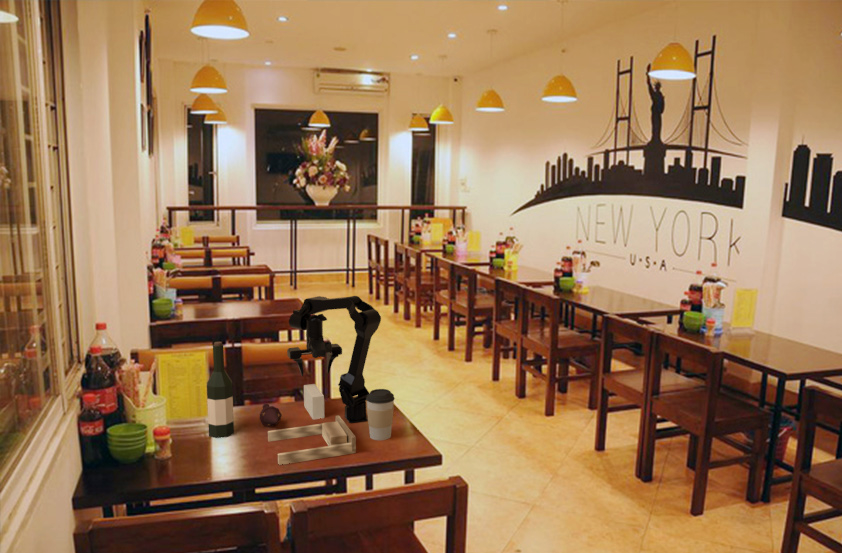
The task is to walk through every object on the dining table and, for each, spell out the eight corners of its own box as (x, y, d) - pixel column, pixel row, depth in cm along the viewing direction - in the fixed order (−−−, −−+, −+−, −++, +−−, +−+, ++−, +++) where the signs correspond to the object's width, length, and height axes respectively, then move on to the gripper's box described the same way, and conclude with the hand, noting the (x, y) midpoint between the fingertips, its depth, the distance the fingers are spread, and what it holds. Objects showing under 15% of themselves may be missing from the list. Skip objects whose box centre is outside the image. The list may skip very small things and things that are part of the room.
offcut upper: (337, 428, 206) (337, 421, 206) (346, 443, 195) (347, 435, 195) (322, 430, 204) (322, 423, 204) (330, 445, 193) (330, 437, 193)
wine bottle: (238, 428, 211) (235, 339, 206) (228, 438, 202) (225, 346, 198) (214, 427, 211) (210, 339, 207) (203, 437, 203) (199, 345, 199)
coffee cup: (360, 438, 203) (360, 392, 201) (375, 428, 211) (375, 384, 209) (385, 443, 199) (385, 397, 197) (399, 433, 207) (399, 389, 205)
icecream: (289, 411, 208) (276, 402, 221) (267, 410, 205) (255, 400, 218) (285, 433, 208) (272, 421, 221) (263, 431, 204) (251, 420, 217)
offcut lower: (337, 435, 207) (337, 427, 207) (349, 452, 194) (349, 444, 194) (322, 437, 205) (322, 429, 205) (333, 454, 192) (333, 446, 192)
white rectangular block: (315, 405, 233) (314, 384, 232) (324, 418, 221) (324, 395, 219) (304, 406, 232) (303, 385, 231) (312, 419, 219) (312, 397, 218)
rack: (339, 430, 210) (339, 415, 209) (355, 452, 192) (355, 437, 192) (268, 440, 201) (267, 425, 201) (278, 465, 184) (278, 448, 183)
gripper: (293, 339, 216) (293, 384, 219) (346, 335, 223) (346, 378, 226) (286, 332, 226) (287, 374, 229) (337, 328, 234) (338, 369, 236)
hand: (315, 374), depth 230 cm, fingers open, 9 cm apart
